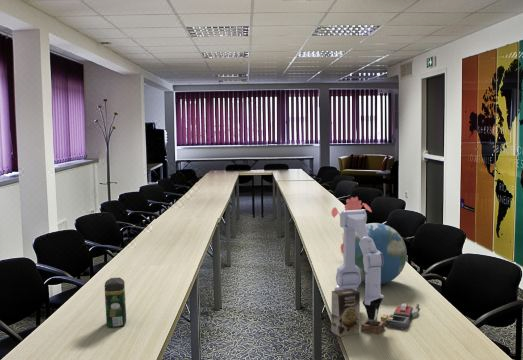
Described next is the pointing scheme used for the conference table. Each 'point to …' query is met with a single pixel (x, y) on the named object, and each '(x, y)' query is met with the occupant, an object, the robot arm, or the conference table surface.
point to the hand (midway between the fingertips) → (372, 317)
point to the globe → (384, 251)
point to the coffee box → (345, 312)
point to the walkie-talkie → (406, 311)
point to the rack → (372, 327)
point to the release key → (384, 317)
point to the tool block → (397, 322)
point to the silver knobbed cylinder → (373, 322)
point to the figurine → (350, 205)
